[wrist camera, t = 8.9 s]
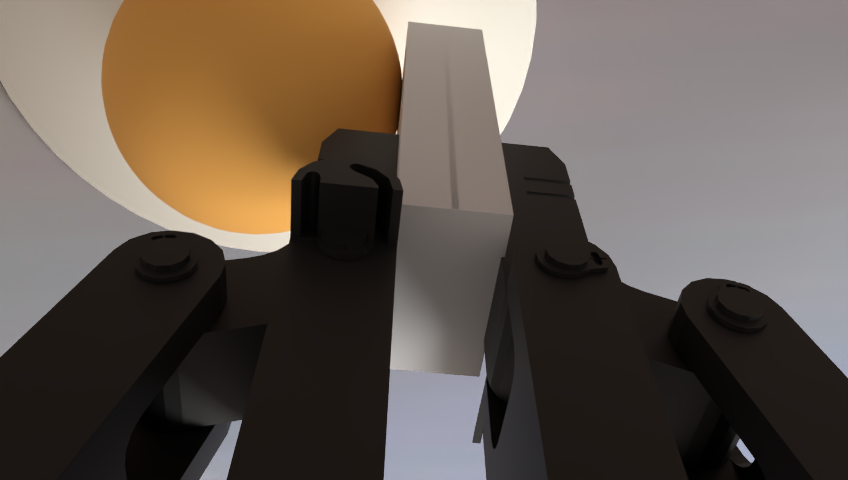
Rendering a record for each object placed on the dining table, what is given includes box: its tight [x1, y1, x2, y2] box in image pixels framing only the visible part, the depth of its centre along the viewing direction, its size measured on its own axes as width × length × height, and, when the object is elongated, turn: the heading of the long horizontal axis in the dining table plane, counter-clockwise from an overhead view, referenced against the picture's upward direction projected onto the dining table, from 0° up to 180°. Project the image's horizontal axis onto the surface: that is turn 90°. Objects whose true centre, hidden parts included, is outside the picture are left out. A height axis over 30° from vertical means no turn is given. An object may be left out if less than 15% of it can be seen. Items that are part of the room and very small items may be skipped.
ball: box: [101, 0, 402, 234], centre depth 15 cm, size 6×6×6 cm
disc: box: [0, 0, 536, 252], centre depth 17 cm, size 12×12×1 cm
